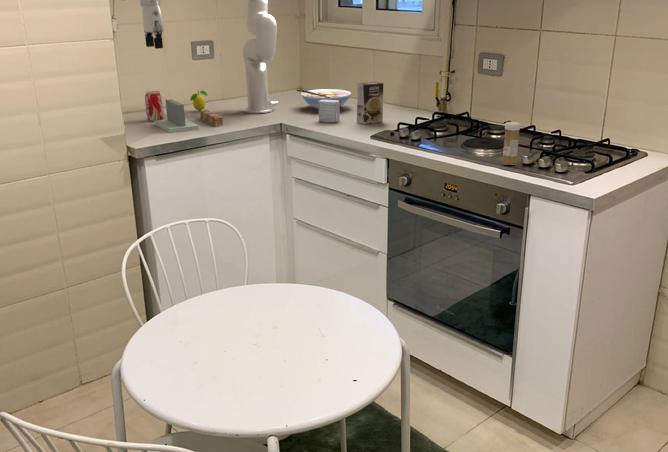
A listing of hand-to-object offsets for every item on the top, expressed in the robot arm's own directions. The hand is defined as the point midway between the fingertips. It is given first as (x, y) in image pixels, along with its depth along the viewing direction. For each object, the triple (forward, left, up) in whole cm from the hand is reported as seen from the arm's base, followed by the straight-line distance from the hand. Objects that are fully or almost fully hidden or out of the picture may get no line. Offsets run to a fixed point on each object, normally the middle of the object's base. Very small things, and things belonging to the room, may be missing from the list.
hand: (154, 47), depth 262 cm
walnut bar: (-18, +11, -31) cm, 37 cm away
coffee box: (-73, +48, -31) cm, 92 cm away
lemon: (-23, -15, -31) cm, 41 cm away
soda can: (0, -7, -31) cm, 32 cm away
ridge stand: (-3, +11, -31) cm, 32 cm away
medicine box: (-60, +37, -31) cm, 76 cm away
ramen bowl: (-73, +13, -31) cm, 80 cm away
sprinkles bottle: (-72, +127, -31) cm, 149 cm away
